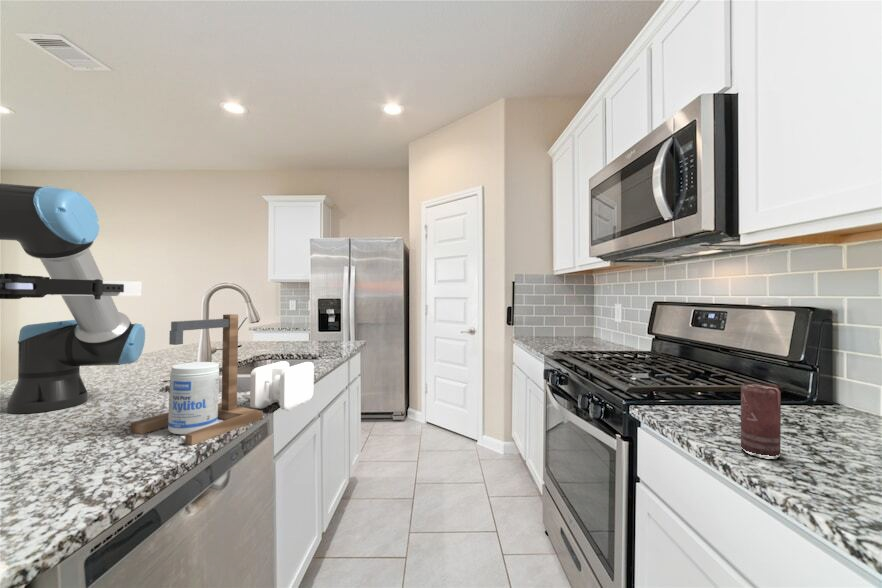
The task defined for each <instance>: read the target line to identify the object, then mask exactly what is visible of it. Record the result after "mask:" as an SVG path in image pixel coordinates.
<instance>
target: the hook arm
mask: <svg viewBox="0 0 882 588" xmlns="http://www.w3.org/2000/svg"><path fill="white" fill-rule="evenodd" d="M223 327H229V319H223V318H216V319H215V318H212V319H211V318H209V319H195V320H194V319H193V320H192V319H191V320H176V321H171V322H170V330H169V338H168V339H169V345H173V346H177V345H184V331H193V330H194V331H195V330H207V329H220V328H222V329H223Z"/></svg>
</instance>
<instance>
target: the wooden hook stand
mask: <svg viewBox="0 0 882 588" xmlns="http://www.w3.org/2000/svg"><path fill="white" fill-rule="evenodd" d="M222 315H223V316H222V319H229V327H222V354H221V355H222V358H221V359H222V361H221V362H222V363H221V364H222V365H221V366H222V368H221V403H218V419H220V420H222V421H221V422H217V424H214V425H211V426H208V427H205V428H202V429H199V430H196V431H193V432H190V433H187V434H184V436H185V438H184V443H185V444H184V445H189V446H194V445H197V444H199V443H201V442H205V441H207V440H209V439H212V438H215V437H218V436H220V435H223V434H226V433H228V432H232V431H233V430H237V429H239V428H242V427H244V426H247V425H250V424H252V423H255V422H257V421H260V420H263V410H261V409H255V408H247V407H241V406H238V360H239V359H238V355H239V351H238V350H239V349H238V348H239V347H238V346H239V314H235V313H233V314H232V313H231V314H230V313H229V314H222ZM168 416H169V411H168V412H165V413H162V414H161V413H160V414H157V415H154V416H150V417H147V418H146V417H145V418H143V419H139V420H136V421H131V422H130V423H129V432H130V433H134V434H139V435H144V434H146V433H151V432H155V431H156V430H160V429H163V428H166V427H168Z"/></svg>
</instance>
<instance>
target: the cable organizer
mask: <svg viewBox="0 0 882 588" xmlns="http://www.w3.org/2000/svg"><path fill="white" fill-rule="evenodd" d="M249 379H250V381H249V382H250V385H249V386H250V387H249V405H250V407H251V409H258V410H261V409H264V408H267V407H269V406H272V404H274V403H278V405H279V408H280V409H281V410H285V411H286V412H289V411H292V410H294V409H295V408H296V407H297V406H300V405H305V404H306V403H308V402H310V400H311V399H312V397H314V390H315V389H314V388H315V387H314V385H315V384H314V383H315V364H314V363H313V362H312V361H304V362H301V363H298V364H294V365H291V366H290V363H289V361H284V360H280V361H276V362H272V363H268V364H265V365H261V366H258V367H255V368H253V369H252V370H251V372H250V378H249Z"/></svg>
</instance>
